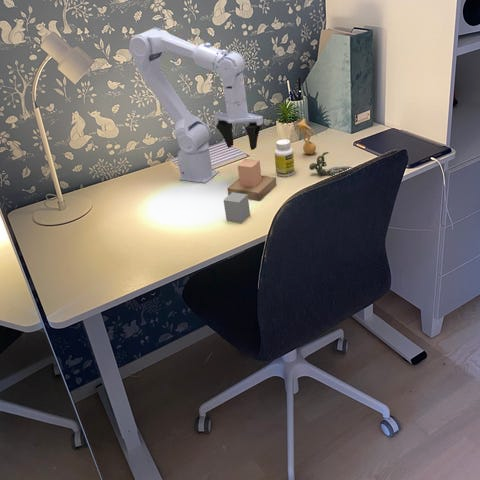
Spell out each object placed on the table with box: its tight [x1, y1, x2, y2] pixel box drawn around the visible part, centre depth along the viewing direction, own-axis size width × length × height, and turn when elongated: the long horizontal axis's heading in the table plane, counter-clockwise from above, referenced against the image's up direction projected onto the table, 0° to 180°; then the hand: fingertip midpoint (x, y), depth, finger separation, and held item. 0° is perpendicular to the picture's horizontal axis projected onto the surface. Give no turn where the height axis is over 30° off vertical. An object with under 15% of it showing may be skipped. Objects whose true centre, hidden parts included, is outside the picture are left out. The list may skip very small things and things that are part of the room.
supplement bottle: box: [274, 139, 295, 177], centre depth 158 cm, size 5×5×10 cm
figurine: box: [294, 118, 318, 155], centre depth 166 cm, size 8×6×12 cm
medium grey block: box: [223, 192, 251, 224], centre depth 139 cm, size 4×4×6 cm
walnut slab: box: [226, 174, 277, 202], centre depth 152 cm, size 10×10×3 cm
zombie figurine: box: [309, 151, 352, 177], centre depth 154 cm, size 5×7×15 cm
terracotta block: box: [237, 158, 262, 187], centre depth 150 cm, size 4×4×6 cm
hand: (242, 147), depth 154 cm, fingers open, 7 cm apart
